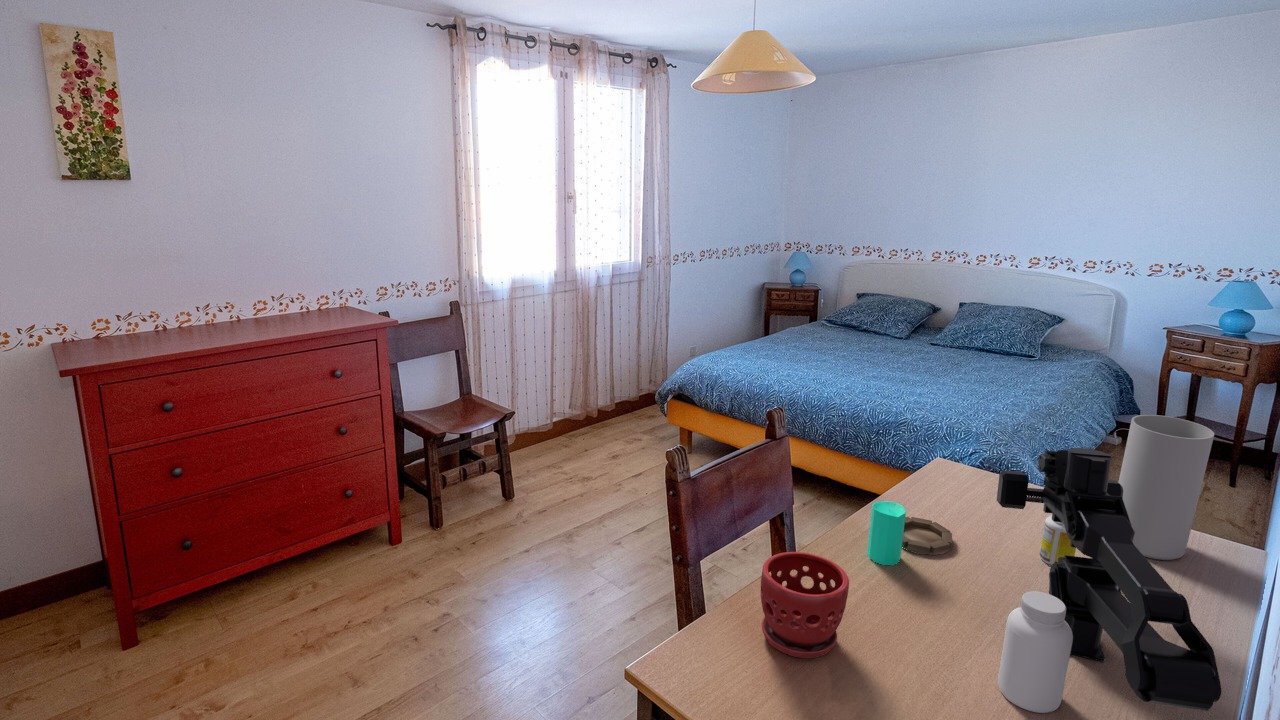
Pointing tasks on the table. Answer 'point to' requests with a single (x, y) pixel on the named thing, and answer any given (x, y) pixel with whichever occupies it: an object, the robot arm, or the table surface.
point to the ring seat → (926, 537)
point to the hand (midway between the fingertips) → (1041, 479)
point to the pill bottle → (1036, 653)
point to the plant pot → (802, 604)
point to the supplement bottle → (1055, 542)
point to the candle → (886, 532)
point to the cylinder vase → (1163, 481)
